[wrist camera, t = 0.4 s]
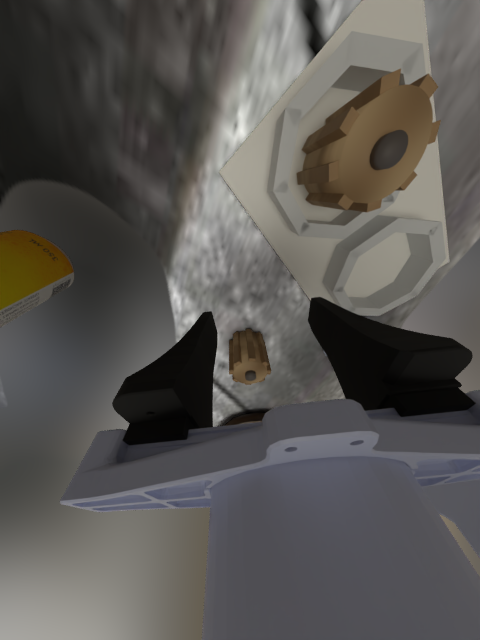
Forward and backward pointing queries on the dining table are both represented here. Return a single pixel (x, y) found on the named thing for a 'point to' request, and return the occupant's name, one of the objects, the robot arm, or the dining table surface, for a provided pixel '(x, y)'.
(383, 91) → the seated gear
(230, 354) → the loose gear
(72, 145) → the dining table surface
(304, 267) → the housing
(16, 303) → the beer can
